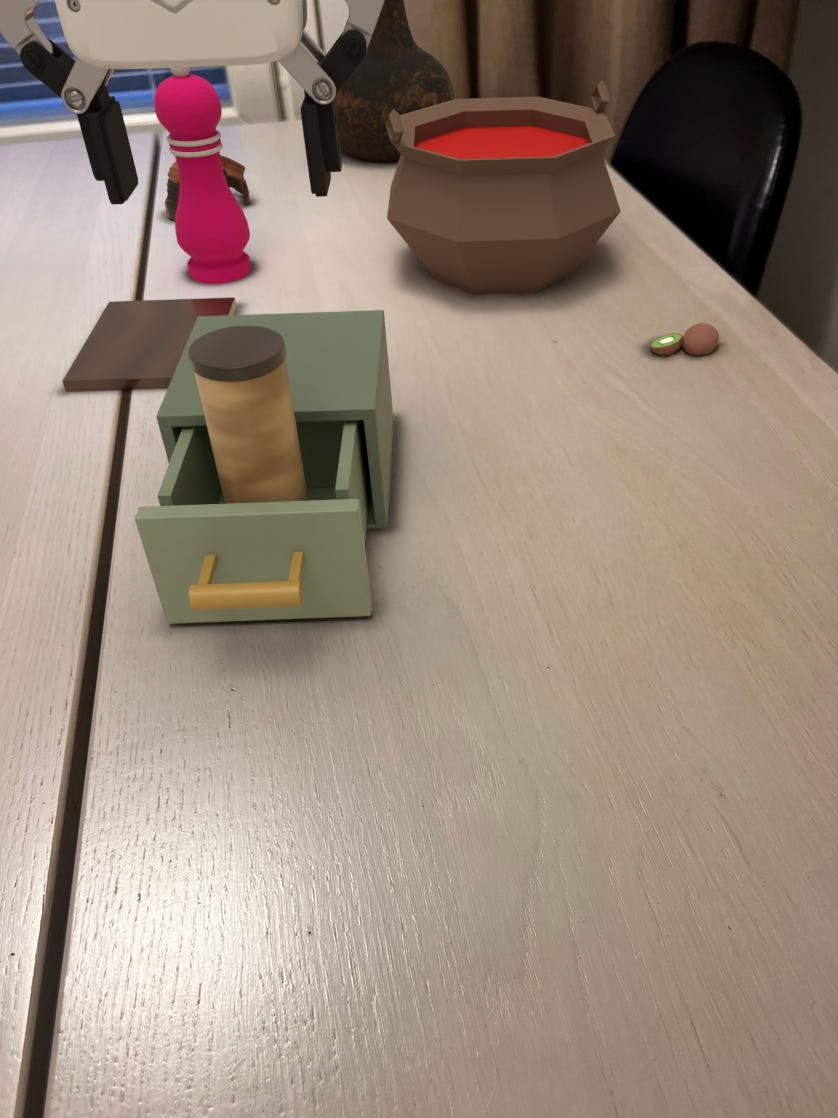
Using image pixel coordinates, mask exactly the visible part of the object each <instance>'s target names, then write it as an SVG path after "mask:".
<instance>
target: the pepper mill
mask: <svg viewBox="0 0 838 1118" xmlns="http://www.w3.org/2000/svg"><path fill="white" fill-rule="evenodd" d="M169 69H170V71H171V73H172V74H173V75H171V76H169V77H167V78H165V79H164V80H163V81H161V82H160V83H159V85H158V86H157V88H156V90H155V92H154V98H153V103H154V104H153V105H154V106H153V107H154V113H155V115H156V118H157V120H158V122H159V123H160V125H161V126H162V127H164V129H165V130H166V131H167V132H168V133H169V134H167V136H166V141H167V143H168V146H169V147H168V151H169V153H170V154H171V155H173V156H174V158H175V162H177V165H178V171H179V179H180V192H179V200H178V206H177V211H176V218H175V221H174V222H175V223H174V224H175V225H174V230H175V231H174V232H175V237H176V242H177V244H178V246H179V248H180V249H181V250H182V251H183V252H184V253H185V254H187V255H188V256H189V259H188V260H187V263H186V264H187V269H188V275H189V278H191V280H193V281H195V282H197V283H201V284H207V285H208V284H209V285H210V284H211V285H215V284H218V285H219V284H227V283H232V282H235V281H238V280H241V279H243V278H245V277H246V276H248V275H249V274H250V273H251V271H252V266H251V265H252V264H251V260H250V256H249V254H248V253H247V252H245V251H244V250H245V248H246V247H247V245H248V243H249V241H250V237H251V231H250V226H249V223H248V220H247V219H248V218H247V217H246V215H245V212H244V211H243V209H242V207H241V205H240V204H239V202H238V200H237V199H236V197H235V194H234V193H233V192H232V190H231V187H229V186H228V184H227V181H226V179H225V176H224V173H223V169H222V165H221V159H220V155H221V151H222V150H223V147H224V144H223V142H222V140H221V137H222V133H221V131H219V130H217V127H218V125H219V123H220V121H221V117H222V114H223V111H222V102H221V99H220V96H219V94H218V92H217V89H216V88H215V87H214V86H213V85H212V84H211V82H209V81H208V80H207V79H205V78H203V77H201V76H199V75H196V74H192V73H191V67H184V68H169ZM190 73H191V74H190Z"/></svg>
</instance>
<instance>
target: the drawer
mask: <svg viewBox="0 0 838 1118" xmlns="http://www.w3.org/2000/svg"><path fill="white" fill-rule="evenodd" d="M296 427H297V433H298V439H299V446H300V452H301V458H302V464H303V470H304V476H305V482H306V488H307V494H308V500H309V501H286V502H258V503H231V504H225V502H224V498H223V493H222V489H221V485H220V480H219V476H218V472H217V468H216V463H215V459H214V455H213V450H212V446H211V442H210V438H209V433H208V429H207V426H183V428H182V430H181V433H180V436H179V439H178V441H177V444H176V447H175V449H174V452H173V455H172V457H171V460H170V463H169V462H168V466H167V469H166V471H165V474H164V476H163V479H162V482H161V485H160V487H159V490H158V492H157V495H156V497H157V499H158V503H159V505H156V506H155V505H154V506H153V505H152V506H151V505H149V506H139V507H138V508H137V512H136V514H135V517H134V522H135V524H136V528H137V531H138V534H139V537H140V540H141V544H142V548H143V550H144V554H145V557H146V560H147V564H148V566H149V567H148V568H149V569H150V573H151V575H152V579H153V583H154V585H155V589H156V592H157V594H158V599H159V602H160V604H161V608H162V611H163V615H164V618H165V620H166V623H167V625H169V624H171V625H173V624H196V623H197V624H199V623H223V622H224V623H225V622H226V623H227V622H248V621H249V622H250V621H272V620H274V621H275V620H276V621H277V620H295V619H296V620H301V619H327V618H331V619H332V618H355V617H356V618H357V617H371V616H372V610H373V609H372V608H373V601H372V600H373V599H372V592H371V585H370V584H371V583H370V577H369V569H368V568H369V567H368V561H367V552H366V538H367V529H366V528H367V516H368V505H369V493H370V486H369V477H368V468H367V459H366V450H365V442H364V433H363V424H362V420H349V421H321V422H296Z"/></svg>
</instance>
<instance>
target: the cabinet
mask: <svg viewBox="0 0 838 1118" xmlns="http://www.w3.org/2000/svg"><path fill="white" fill-rule="evenodd" d="M233 326H259V327H265V328H269V329H271V330H274V331H276V332H278V333H279V334H280V335H281V336H282V337H283V339H284V343H285V349H286V358H285V360H286V366H287V372H288V379H289V385H290V391H291V397H292V403H293V409H294V415H295V421H296V422H321V421H349V420H362V424H363V433H364V442H365V450H366V459H367V468H368V477H369V486H370V493H369V505H368V516H367V528H366V530H369V529H370V530H371V529H375V530H376V529H387V528H388V525H389V523H388V522H389V506H390V491H391V489H390V488H391V473H392V458H393V457H392V454H393V441H394V440H393V439H394V423H395V420H394V410H393V409H394V408H393V397H392V387H391V375H390V374H391V373H390V365H389V363H390V362H389V355H388V354H389V352H388V343H387V330H386V329H387V328H386V321H385V310H384V309H378V310H377V309H375V310H374V309H373V310H347V311H346V310H344V311H343V310H342V311H317V312H315V311H314V312H288V313H287V312H286V313H259V314H256V313H255V314H234V315H225V316H198V317H197V320H196V322H195V325H194V327H193V329H192V332H191V334H190V337H189V339H188V342H187V344H186V346H185V349H184V351H183V354H182V356H181V358H180V361H179V363H178V366H177V368H176V370H175V373H174V375H173V378H172V380H171V382H170V385H169V387H168V388H167V389H166V392H165V394H164V397H163V399H162V402H161V404H160V406H159V409H158V411H157V414H156V416H155V417H156V421H157V425H158V427H159V432H160V436H161V440H162V443H163V447H164V451H165V454H166V458H167V462H168V464H169V463H170V460H171V457H172V455H173V452H174V449H175V447H176V444H177V441H178V439H179V436H180V433H181V430H182V428H183V426H207V425H206V420H205V416H204V412H203V408H202V403H201V399H200V395H199V390H198V386H197V382H196V378H195V373H194V371H193V369H192V368H191V364H190V360H189V356H188V350H189V347H190V345H191V344H192V343H193V342H194V341H195V340H196V339H198V338H199V337H201V336H202V335H204V334H207V333H209V332H212V331H215V330H218V329H222V328H227V327H233Z"/></svg>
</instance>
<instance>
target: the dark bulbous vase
mask: <svg viewBox="0 0 838 1118" xmlns="http://www.w3.org/2000/svg"><path fill="white" fill-rule="evenodd" d="M410 28H411V27H410V25H409V20H408V15H407V11H406V7H405V1H404V0H385V1H384V4H383V7H382V9H381V12H380V15H379V18H378V21H377V23H376V26H375V29H374V32H373V35H372V37H371V40H370V43H369V45H368V48H367V51H366V54H365V56H364V58H363V60H362V61H361V62H360V63H359V65H358V66H357V67H356V69H355V70H354V71H353V73H352V74H351V75H350V77H349V78H348V79H347V81H346V82H345V83H344V84H343V86H342V87H341V88H340V90H339V91H338V92H337V94H336V95H335V103H336V112H337V121H338V130H339V139H340V148H341V150H343V151H344V152H346V153H347V154H349V155H350V156H352V157H355V158H357V159H359V160H362V161H366V162H373V163H374V162H375V163H393V162H395V163H396V162H399V159H400V156H401V154H400V152H399V151H398V150H397V149H396V147H395V146H394V145H393V143H392V142H391V140H390V137H389V134H388V131H387V128H386V123H387V120H388V117H389V114H390V113H391V112H392V110H393V109H394V110H395V111H396V112H397V113H398V114H399V116H400V115H403V114H407V113H410V112H413V111H417V110H420V109H424V108H427V107H430V106H434V105H437V104H441V103H444V102H447V101H451V100H454V99H455V91H454V87H453V83H452V80H451V78H450V75H449V74H448V72H447V70H446V68H445V67H444V66H443V64H442V63H441V62H440V61H439V60H438V59H437V58H436V57H434V56H433V55H432V54H431V53H430V52H427V51H426V50H424V49H423V48H421V47H420V46H419V45H418V44H417V43H416V41H415V39H414V37H413V35H412V32H411V29H410Z"/></svg>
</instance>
